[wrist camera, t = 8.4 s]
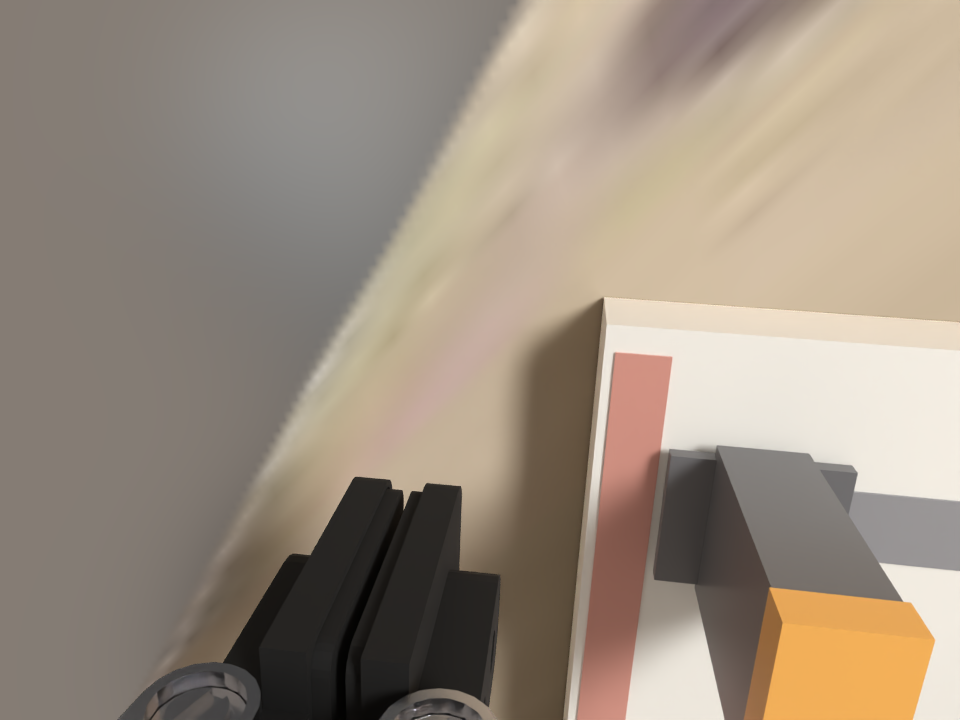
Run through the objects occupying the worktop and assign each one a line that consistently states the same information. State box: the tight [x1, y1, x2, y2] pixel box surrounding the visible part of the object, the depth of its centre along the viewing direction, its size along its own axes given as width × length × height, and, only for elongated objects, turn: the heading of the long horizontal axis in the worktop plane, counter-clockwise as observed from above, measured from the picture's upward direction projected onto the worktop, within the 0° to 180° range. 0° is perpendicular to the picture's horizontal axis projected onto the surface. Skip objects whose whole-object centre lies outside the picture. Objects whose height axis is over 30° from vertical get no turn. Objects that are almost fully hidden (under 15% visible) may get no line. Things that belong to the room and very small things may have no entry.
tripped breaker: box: [653, 445, 935, 720], centre depth 12 cm, size 3×3×5 cm
